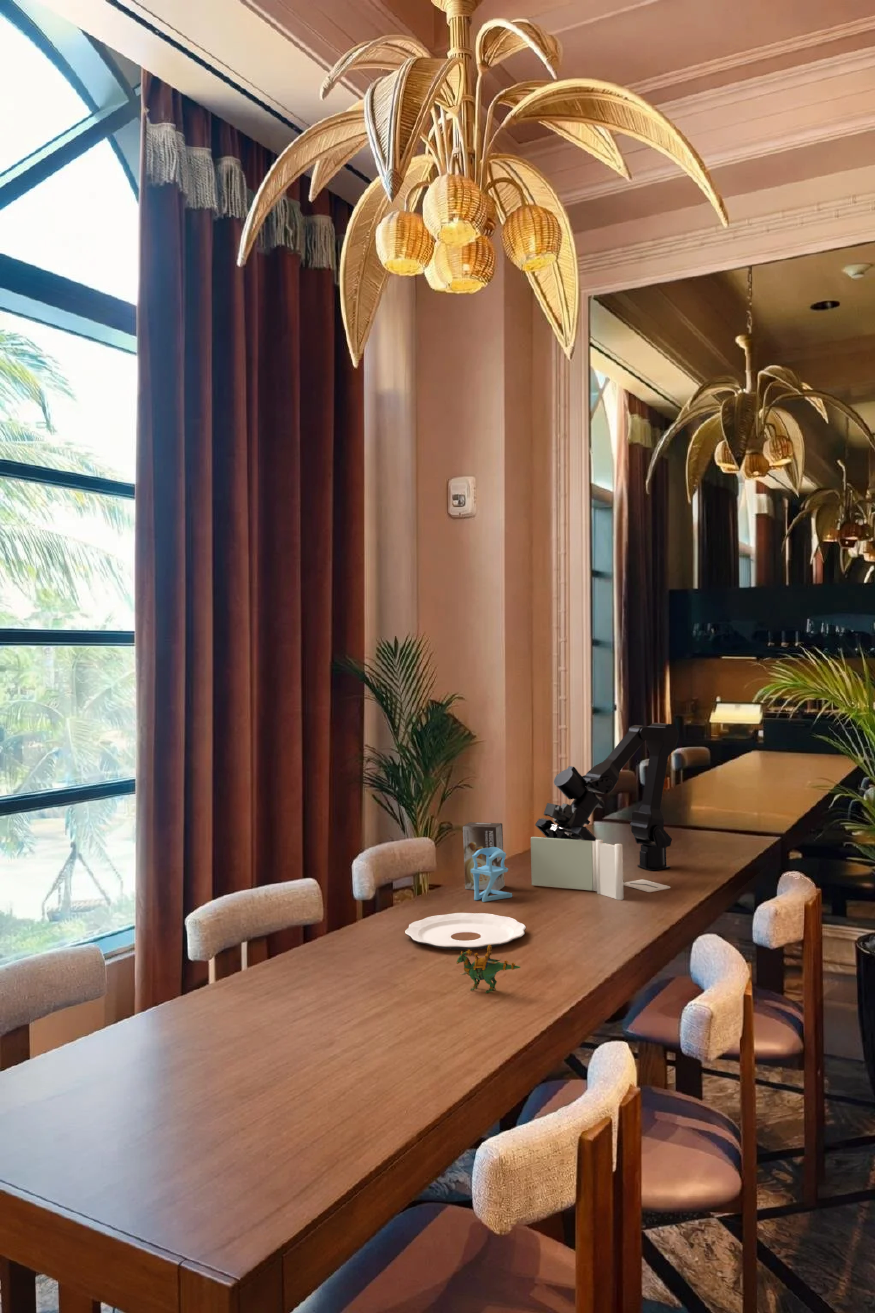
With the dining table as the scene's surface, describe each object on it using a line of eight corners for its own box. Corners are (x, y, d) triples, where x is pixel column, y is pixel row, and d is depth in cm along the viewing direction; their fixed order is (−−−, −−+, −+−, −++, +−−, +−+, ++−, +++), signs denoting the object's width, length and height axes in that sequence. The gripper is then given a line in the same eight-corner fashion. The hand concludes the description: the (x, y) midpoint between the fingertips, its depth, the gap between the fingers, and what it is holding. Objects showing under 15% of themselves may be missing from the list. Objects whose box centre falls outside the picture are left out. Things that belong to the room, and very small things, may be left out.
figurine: (460, 984, 177) (459, 939, 177) (524, 992, 172) (523, 945, 172) (453, 990, 174) (452, 943, 174) (518, 997, 170) (517, 950, 170)
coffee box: (505, 885, 252) (504, 822, 252) (498, 891, 246) (497, 827, 246) (471, 883, 255) (470, 821, 255) (463, 889, 249) (462, 825, 249)
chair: (466, 899, 239) (465, 849, 239) (488, 892, 245) (487, 844, 245) (491, 903, 234) (490, 853, 234) (513, 897, 240) (511, 847, 240)
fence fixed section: (625, 899, 235) (623, 844, 235) (619, 900, 234) (618, 845, 234) (601, 892, 243) (599, 839, 242) (595, 893, 242) (594, 840, 242)
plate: (390, 929, 215) (390, 920, 215) (496, 916, 223) (495, 907, 223) (430, 962, 191) (430, 952, 191) (546, 946, 200) (546, 936, 200)
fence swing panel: (598, 889, 243) (597, 841, 243) (596, 890, 242) (595, 842, 242) (533, 884, 251) (532, 836, 251) (531, 885, 250) (530, 837, 250)
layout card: (670, 888, 245) (670, 886, 245) (649, 892, 241) (649, 890, 241) (642, 880, 253) (642, 878, 253) (621, 884, 250) (621, 882, 250)
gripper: (539, 787, 260) (506, 834, 255) (585, 795, 244) (551, 845, 239) (564, 813, 265) (532, 860, 259) (610, 822, 249) (578, 873, 243)
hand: (547, 859), depth 250 cm, fingers closed
